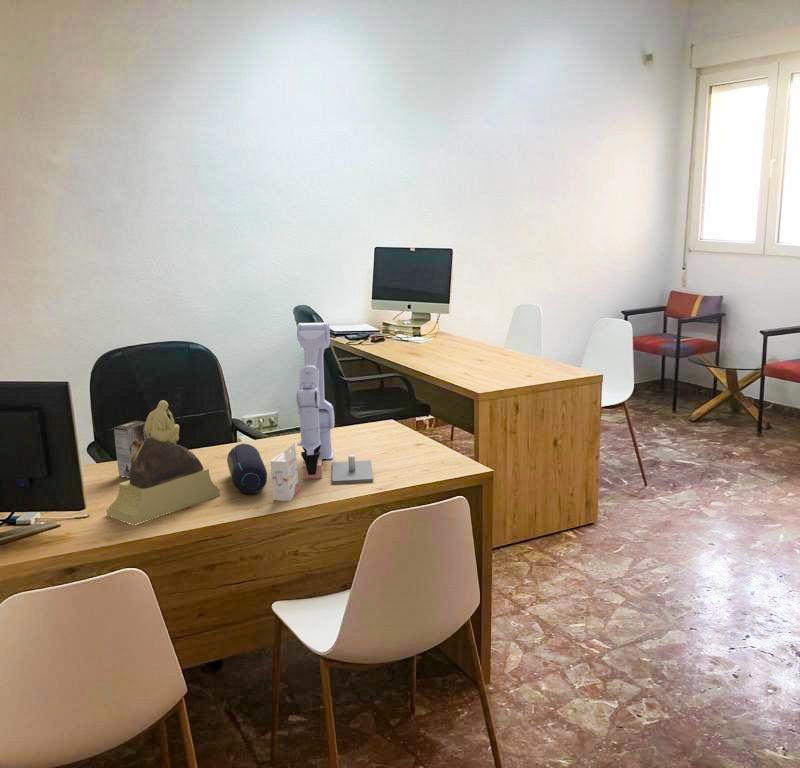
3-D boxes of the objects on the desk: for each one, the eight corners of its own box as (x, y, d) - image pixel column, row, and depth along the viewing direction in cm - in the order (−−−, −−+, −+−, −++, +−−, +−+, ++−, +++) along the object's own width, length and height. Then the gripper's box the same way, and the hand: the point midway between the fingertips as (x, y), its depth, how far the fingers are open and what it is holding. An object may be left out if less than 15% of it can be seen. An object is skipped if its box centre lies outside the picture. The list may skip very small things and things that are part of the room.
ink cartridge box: (282, 490, 239) (279, 441, 236) (299, 491, 238) (296, 442, 235) (272, 501, 231) (268, 450, 228) (289, 501, 230) (286, 450, 227)
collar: (303, 473, 254) (303, 460, 253) (322, 472, 255) (321, 459, 254) (303, 479, 249) (302, 466, 248) (321, 478, 249) (321, 465, 248)
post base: (332, 465, 261) (331, 448, 260) (370, 463, 262) (370, 446, 260) (332, 484, 243) (331, 466, 242) (373, 481, 244) (372, 464, 243)
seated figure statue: (192, 487, 245) (183, 388, 239) (220, 495, 237) (211, 393, 231) (107, 516, 224) (94, 408, 218) (134, 526, 216) (122, 414, 210)
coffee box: (140, 468, 264) (135, 419, 261) (155, 471, 261) (150, 421, 258) (118, 477, 257) (112, 427, 253) (133, 479, 253) (127, 429, 250)
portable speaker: (227, 473, 257) (224, 442, 255) (259, 469, 260) (257, 438, 258) (234, 499, 233) (231, 465, 231) (270, 495, 236) (267, 461, 234)
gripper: (297, 422, 255) (300, 464, 258) (295, 435, 241) (298, 479, 244) (320, 421, 256) (323, 463, 259) (319, 433, 242) (322, 478, 244)
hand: (312, 471), depth 251 cm, fingers closed on collar, 6 cm apart
